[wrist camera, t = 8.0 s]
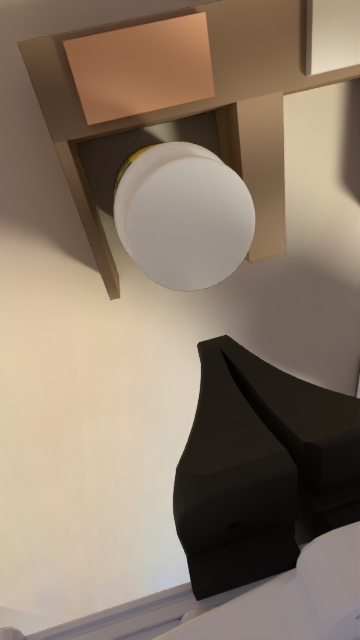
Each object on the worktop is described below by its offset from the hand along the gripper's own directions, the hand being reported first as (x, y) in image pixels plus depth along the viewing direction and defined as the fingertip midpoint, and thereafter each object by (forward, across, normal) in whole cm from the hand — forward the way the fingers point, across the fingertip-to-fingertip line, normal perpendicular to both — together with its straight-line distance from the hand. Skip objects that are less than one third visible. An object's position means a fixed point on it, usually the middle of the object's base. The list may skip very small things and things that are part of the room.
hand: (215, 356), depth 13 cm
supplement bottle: (+7, 0, -6) cm, 9 cm away
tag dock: (+7, -4, -7) cm, 11 cm away
